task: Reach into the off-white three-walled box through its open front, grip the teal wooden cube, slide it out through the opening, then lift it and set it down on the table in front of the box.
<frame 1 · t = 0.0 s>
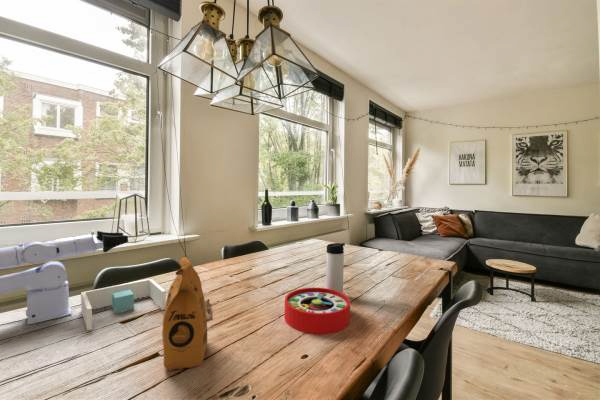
hand: (125, 237, 95), 22 cm above the table, tool horizontal, fingers open, 7 cm apart
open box: (124, 310, 87), on the table
coffee package: (185, 355, 64), on the table
travel mug: (334, 297, 99), on the table
shard: (194, 316, 85), on the table
toy clock: (316, 318, 84), on the table
teal block: (123, 308, 88), on the table
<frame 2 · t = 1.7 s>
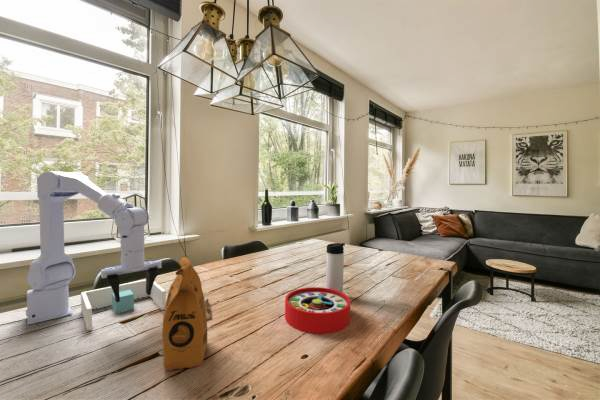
hand: (133, 297, 77), 8 cm above the table, tool pointing down, fingers open, 7 cm apart
nothing on the table moved.
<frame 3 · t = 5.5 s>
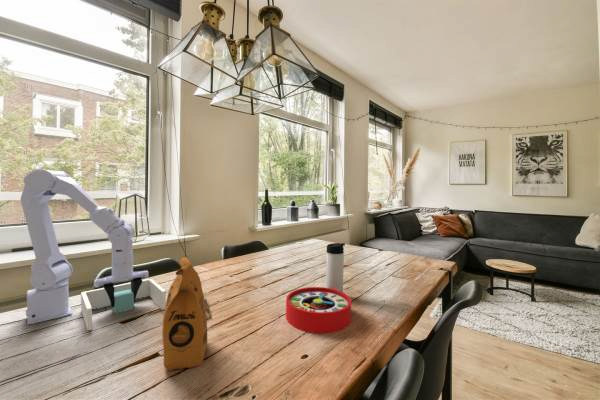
hand: (123, 303, 88), 2 cm above the table, tool pointing down, fingers closed on teal block, 5 cm apart
teal block: (123, 308, 88), on the table, touching gripper
everything else where it was.
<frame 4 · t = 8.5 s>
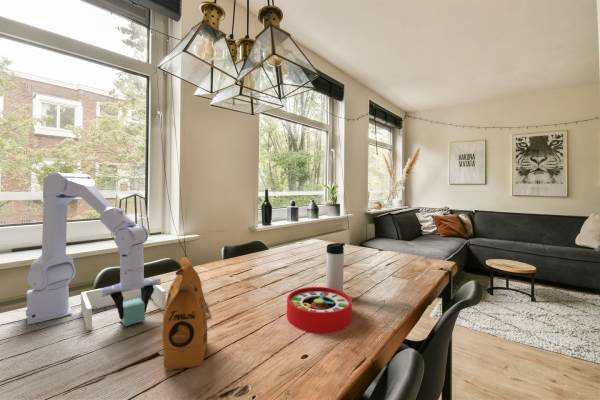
hand: (132, 314, 78), 3 cm above the table, tool pointing down, fingers closed on teal block, 5 cm apart
teal block: (132, 319, 78), point 1 cm above the table, touching gripper
everything else where it was.
when the fingers open (3 cm above the table, at t = 11.5 s): teal block drops 2 cm, on the table.
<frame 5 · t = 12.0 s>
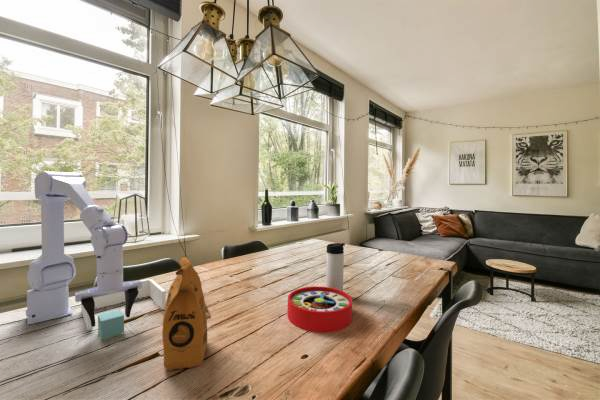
hand: (110, 320, 73), 3 cm above the table, tool pointing down, fingers open, 7 cm apart
teal block: (111, 333, 73), on the table
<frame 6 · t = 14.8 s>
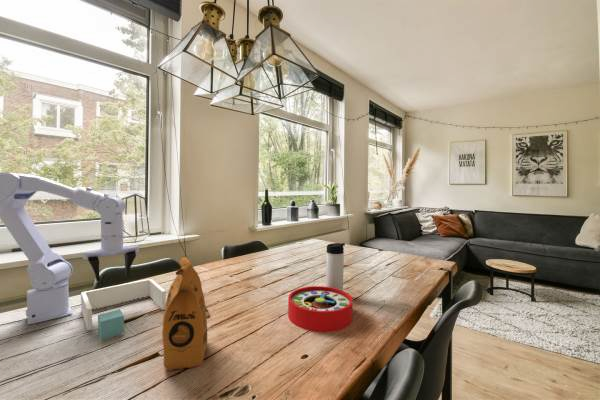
hand: (112, 277, 86), 10 cm above the table, tool pointing down, fingers open, 7 cm apart
at the end: teal block inside the target area (2.3 cm from its centre), on the table; the gripper is holding nothing; teal block tilted 0° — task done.
